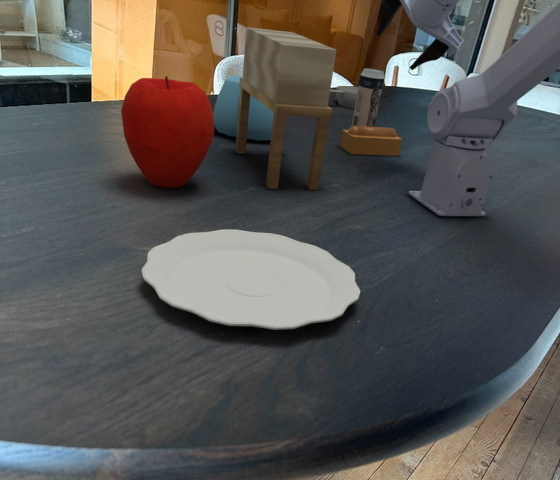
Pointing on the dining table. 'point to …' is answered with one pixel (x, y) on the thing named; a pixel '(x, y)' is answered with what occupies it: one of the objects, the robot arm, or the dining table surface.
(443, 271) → the dining table surface
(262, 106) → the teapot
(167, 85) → the apple
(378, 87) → the beer can
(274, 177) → the stand
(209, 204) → the dining table surface
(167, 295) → the plate
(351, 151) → the low wooden box
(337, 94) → the saucepan
